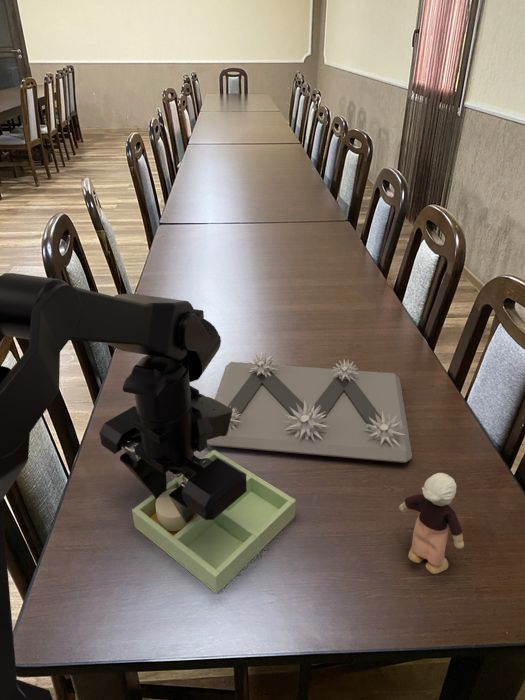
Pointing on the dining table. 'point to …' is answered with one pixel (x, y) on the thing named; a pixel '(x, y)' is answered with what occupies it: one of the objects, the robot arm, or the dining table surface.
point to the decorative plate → (314, 411)
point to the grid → (221, 530)
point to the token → (169, 513)
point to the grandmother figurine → (434, 522)
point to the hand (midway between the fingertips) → (175, 509)
